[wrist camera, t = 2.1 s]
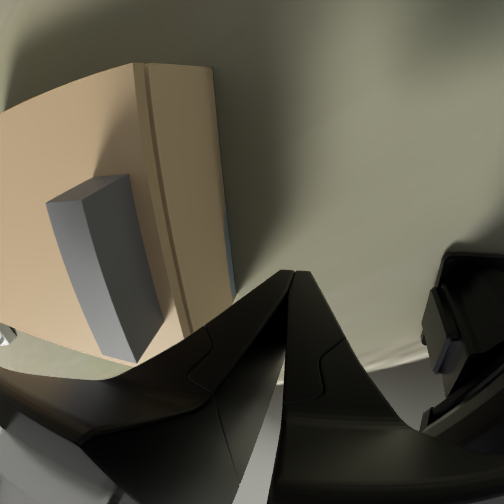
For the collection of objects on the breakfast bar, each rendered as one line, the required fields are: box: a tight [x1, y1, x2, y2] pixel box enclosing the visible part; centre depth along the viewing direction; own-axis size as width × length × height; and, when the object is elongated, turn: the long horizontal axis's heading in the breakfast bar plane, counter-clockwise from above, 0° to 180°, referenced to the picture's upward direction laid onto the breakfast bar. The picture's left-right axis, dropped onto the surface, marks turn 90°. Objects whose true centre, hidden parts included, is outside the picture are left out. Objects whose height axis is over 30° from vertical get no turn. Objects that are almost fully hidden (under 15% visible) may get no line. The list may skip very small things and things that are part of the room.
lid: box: [0, 63, 191, 367], centre depth 12 cm, size 18×13×3 cm
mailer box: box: [143, 63, 236, 334], centre depth 16 cm, size 18×13×6 cm
